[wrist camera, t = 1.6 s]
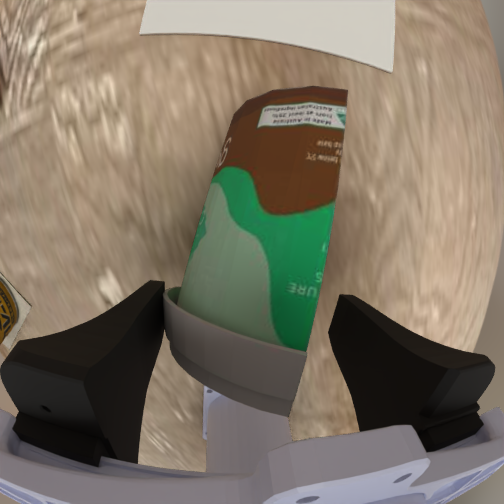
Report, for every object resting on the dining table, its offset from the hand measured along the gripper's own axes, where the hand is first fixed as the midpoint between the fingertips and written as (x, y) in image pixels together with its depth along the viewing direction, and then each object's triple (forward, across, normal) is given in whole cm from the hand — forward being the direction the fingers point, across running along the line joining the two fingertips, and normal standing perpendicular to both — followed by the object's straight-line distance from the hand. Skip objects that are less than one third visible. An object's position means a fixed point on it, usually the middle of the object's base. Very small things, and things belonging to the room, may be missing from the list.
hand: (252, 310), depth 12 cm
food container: (+4, 0, -7) cm, 8 cm away
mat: (+8, 0, -20) cm, 21 cm away
